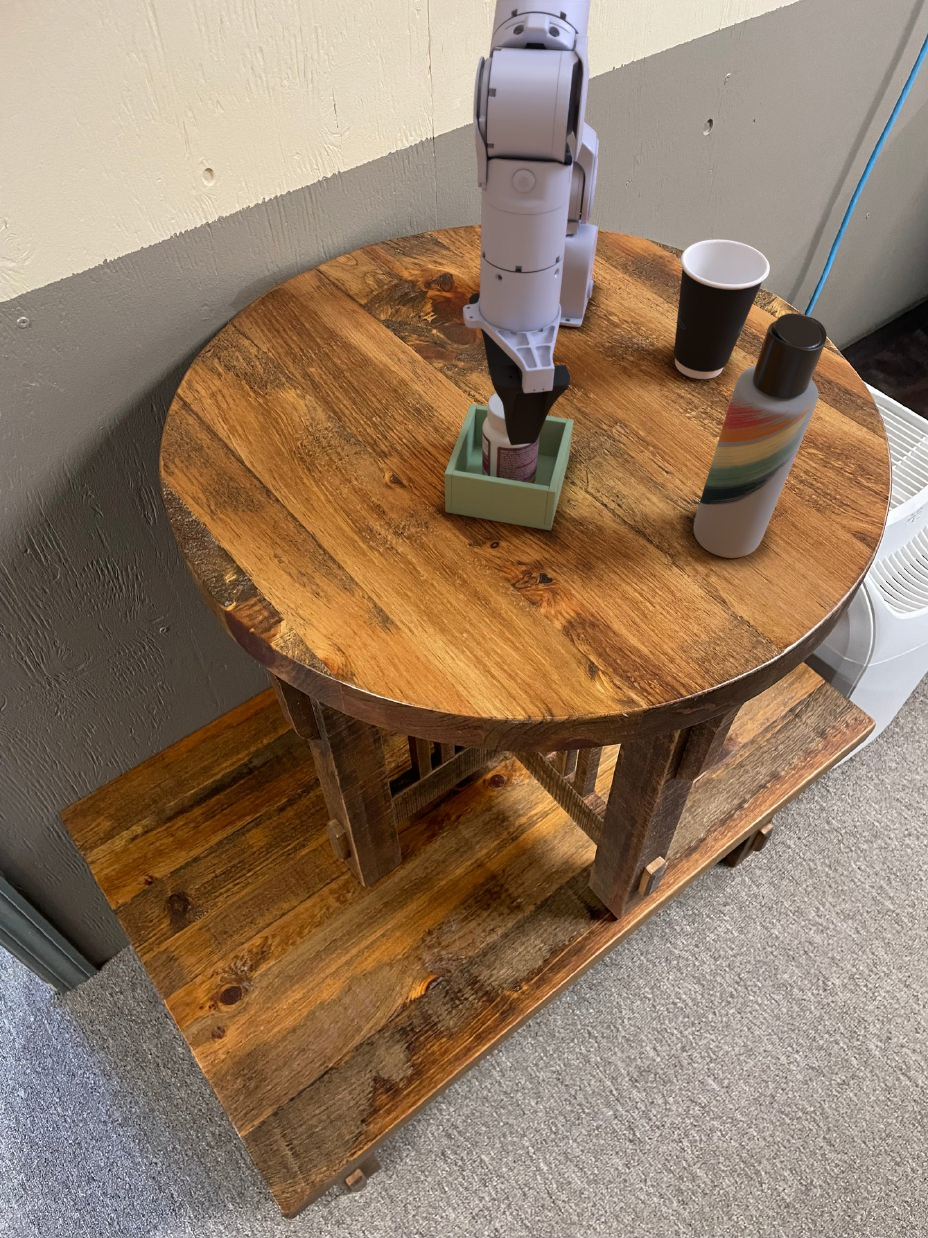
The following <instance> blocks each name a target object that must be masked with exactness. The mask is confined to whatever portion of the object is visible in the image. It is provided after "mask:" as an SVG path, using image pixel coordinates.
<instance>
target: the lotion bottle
mask: <svg viewBox="0 0 928 1238" xmlns="http://www.w3.org/2000/svg"><path fill="white" fill-rule="evenodd" d="M826 330H827V329H826V328H825V326H824V325H823V324H822V322H820V321H819V320H818V319H816V318H814V317H811V316H807V315H803V314H800V313H795V312H794V313H784V314H781V315H780V316H779V317H778V318H777V319H776V320H774V321H773V322H772V323H770V324H769V326H768V327H767V330H766V333H765V335H764V339H763V342H762V344H761V348H760V351H759V354H758V358H757V362H756V364H755V365H753V366H750V367H749V368H746V369H745V370H744V371H743V372H741V373H740V375H739V377H738V378H737V380H736V383H735V386H734V389H733V392H732V395H731V399H730V401H729V405H728V408H727V412H726V415H725V418H724V422H723V425H722V427H721V431H720V435H719V438H718V441H717V444H716V448H715V450H714V455H713V458H712V461H711V464H710V467H709V471H708V473H707V477H706V480H705V483H704V486H703V489H702V494H701V496H700V500H699V504H698V506H697V510H696V514H695V517H694V522H693V535H694V537H695V539H696V541H697V543H698V544H699V545H700V546H701V547H702V548H703V549H705V550H706V551H707V552H709V553H711V554H713V555H715V556H719V557H722V558H729V559H737V558H743V557H746V556H748V555H750V554H752V553H753V552H755V551H756V550H757V548H758V547H759V546H760V544H761V542H762V540H763V539H764V536H765V534H766V531H767V529H768V526H769V524H770V521H771V519H772V517H773V513H774V511H775V508H776V507H777V504H778V501H779V499H780V496H781V494H782V491H783V490H784V486H785V484H786V482H787V480H788V477H789V474H790V472H791V469H792V467H793V464H794V462H795V459H796V457H797V454H798V452H799V449H800V448H801V444H802V442H803V441H804V437H805V434H806V432H807V429H808V427H809V425H810V422H811V419H812V417H813V414H814V411H815V409H816V408H817V407H816V406H817V403H818V401H819V390H818V387H817V385H816V383H815V381H813V379H812V378H813V376H814V373H815V370H816V368H817V366H818V363H819V360H820V358H821V356H822V352H823V351H824V347H825V345H826V342H827V339H828V338H827V337H828V335H827V331H826Z"/></svg>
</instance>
